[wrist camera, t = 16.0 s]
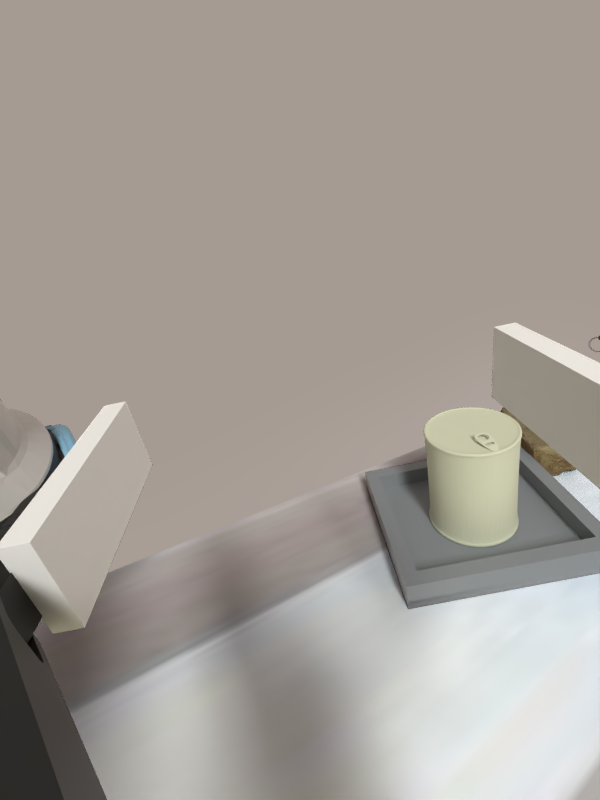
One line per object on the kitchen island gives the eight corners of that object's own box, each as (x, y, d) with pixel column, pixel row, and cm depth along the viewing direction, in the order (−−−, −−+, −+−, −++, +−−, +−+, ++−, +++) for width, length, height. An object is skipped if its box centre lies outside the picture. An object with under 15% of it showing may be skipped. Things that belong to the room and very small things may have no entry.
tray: (408, 609, 39) (406, 587, 38) (367, 490, 55) (365, 472, 54) (619, 569, 38) (624, 545, 37) (516, 461, 55) (516, 442, 53)
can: (456, 558, 42) (452, 461, 36) (415, 502, 50) (407, 416, 45) (538, 532, 42) (546, 434, 37) (485, 481, 51) (485, 395, 46)
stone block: (530, 428, 61) (532, 398, 59) (582, 474, 50) (587, 440, 48) (491, 435, 61) (491, 406, 59) (535, 483, 51) (537, 449, 48)
